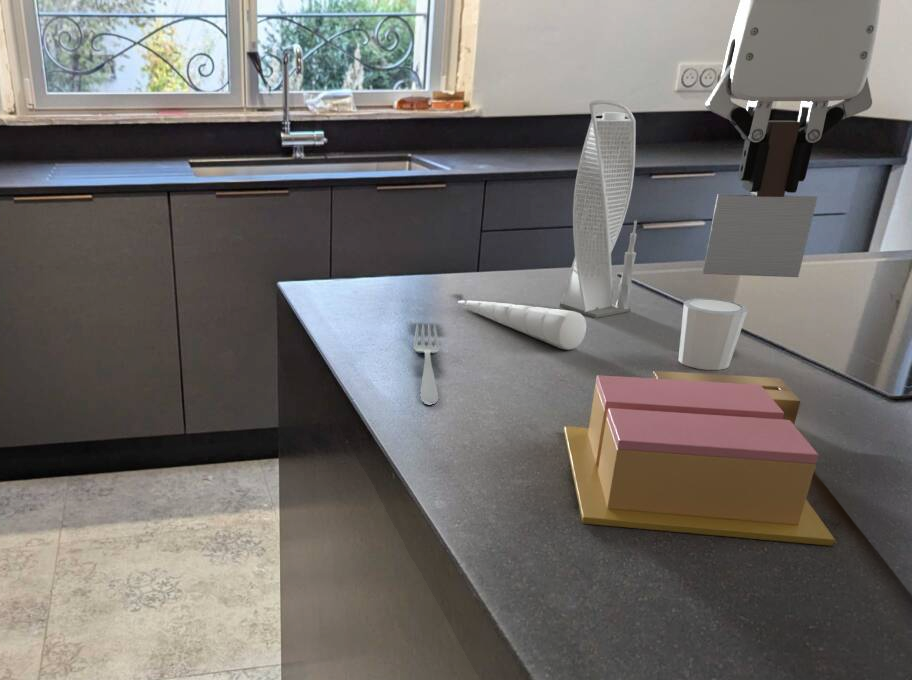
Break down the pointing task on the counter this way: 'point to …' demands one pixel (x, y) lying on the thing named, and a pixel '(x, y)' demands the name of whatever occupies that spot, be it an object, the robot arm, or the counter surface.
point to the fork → (427, 365)
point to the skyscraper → (602, 214)
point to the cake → (694, 461)
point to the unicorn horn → (535, 321)
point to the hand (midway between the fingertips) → (768, 188)
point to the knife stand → (771, 385)
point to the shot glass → (710, 332)
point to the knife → (763, 219)
